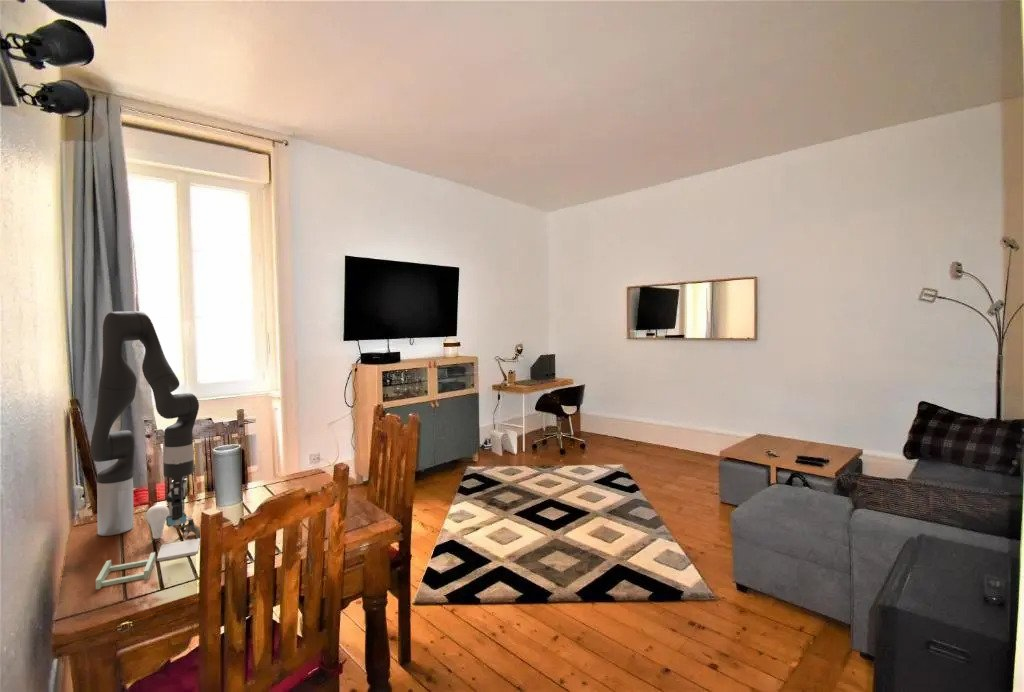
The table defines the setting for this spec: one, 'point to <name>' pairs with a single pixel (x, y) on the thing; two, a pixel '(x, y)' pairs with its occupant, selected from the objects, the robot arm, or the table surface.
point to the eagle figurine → (189, 528)
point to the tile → (178, 549)
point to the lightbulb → (157, 519)
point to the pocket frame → (108, 568)
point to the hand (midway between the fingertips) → (179, 514)
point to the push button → (170, 519)
